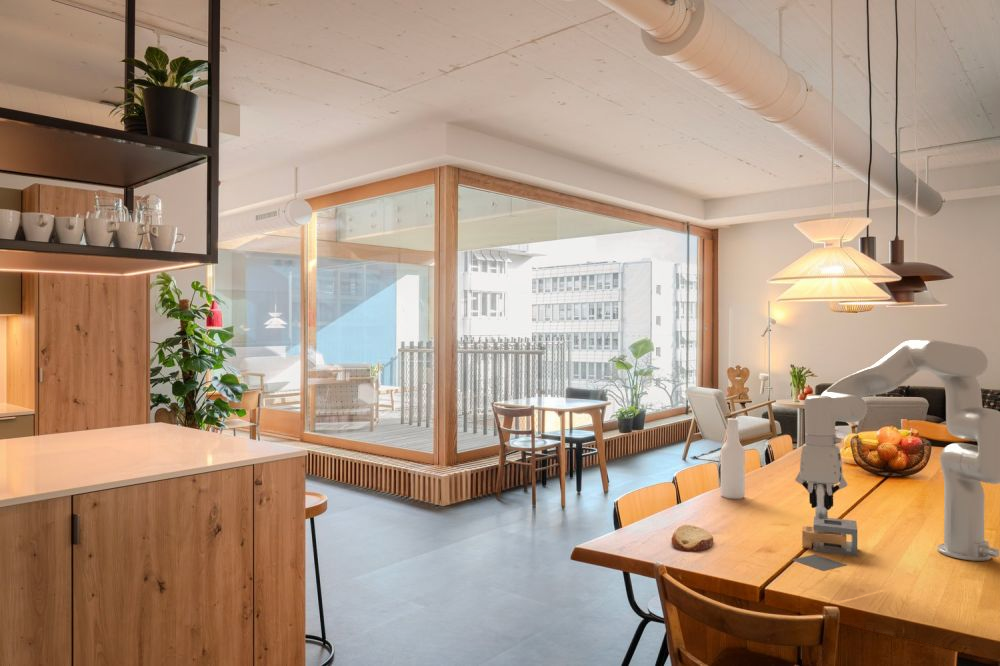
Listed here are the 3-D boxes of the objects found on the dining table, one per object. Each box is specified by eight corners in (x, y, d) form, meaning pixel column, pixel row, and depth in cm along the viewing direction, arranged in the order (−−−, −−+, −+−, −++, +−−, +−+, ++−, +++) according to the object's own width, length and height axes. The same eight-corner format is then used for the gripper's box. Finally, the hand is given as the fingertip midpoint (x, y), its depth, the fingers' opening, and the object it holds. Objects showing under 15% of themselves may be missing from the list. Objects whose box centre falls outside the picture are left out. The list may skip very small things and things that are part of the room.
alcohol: (741, 494, 267) (741, 417, 267) (747, 499, 258) (747, 420, 258) (718, 493, 268) (718, 417, 268) (723, 499, 259) (723, 419, 259)
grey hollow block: (856, 548, 201) (856, 520, 201) (857, 558, 192) (857, 529, 192) (803, 541, 207) (803, 515, 207) (802, 551, 198) (802, 523, 198)
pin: (830, 518, 187) (829, 483, 186) (822, 520, 185) (822, 485, 185) (820, 515, 189) (819, 481, 189) (813, 517, 188) (812, 482, 188)
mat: (847, 566, 185) (847, 564, 185) (823, 572, 180) (823, 571, 180) (815, 555, 194) (815, 554, 194) (791, 561, 189) (791, 559, 189)
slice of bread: (692, 530, 219) (692, 518, 219) (733, 546, 203) (733, 533, 203) (647, 537, 212) (647, 525, 212) (686, 554, 196) (686, 541, 196)
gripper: (856, 441, 185) (857, 509, 185) (792, 436, 195) (794, 500, 195) (849, 445, 179) (851, 515, 179) (784, 440, 189) (786, 506, 189)
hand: (821, 507), depth 187 cm, fingers closed on pin, 3 cm apart
